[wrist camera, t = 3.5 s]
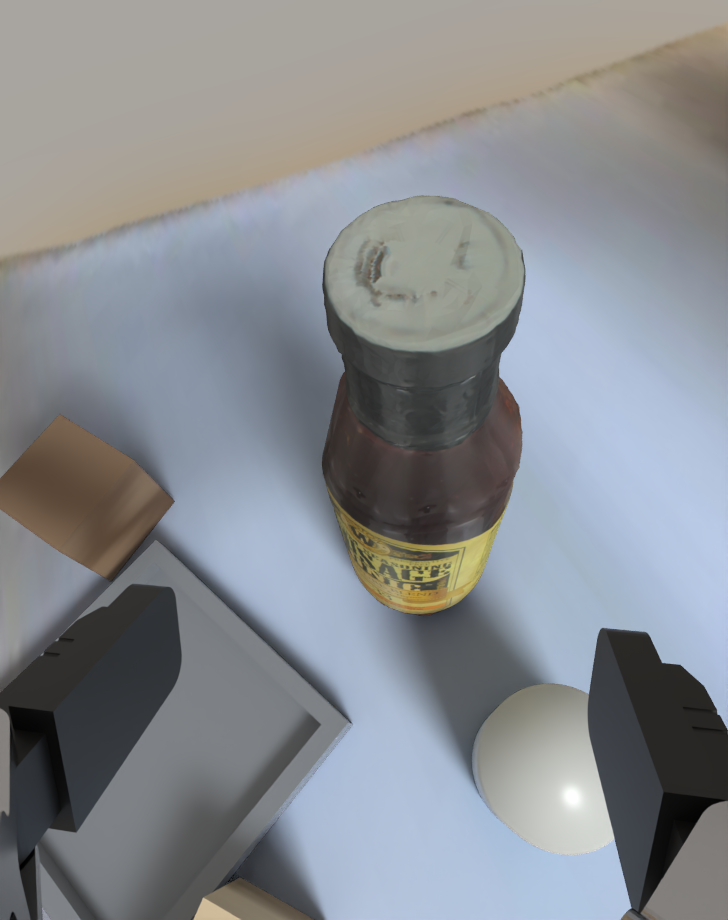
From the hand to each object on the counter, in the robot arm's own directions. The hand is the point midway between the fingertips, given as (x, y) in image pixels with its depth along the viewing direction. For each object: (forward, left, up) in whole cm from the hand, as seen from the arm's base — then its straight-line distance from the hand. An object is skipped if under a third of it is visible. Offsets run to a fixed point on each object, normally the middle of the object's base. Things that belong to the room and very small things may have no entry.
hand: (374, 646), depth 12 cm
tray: (+8, -8, -17) cm, 21 cm away
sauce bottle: (-6, -4, -17) cm, 19 cm away
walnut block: (+3, -18, -17) cm, 25 cm away
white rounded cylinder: (-2, +5, -17) cm, 18 cm away
